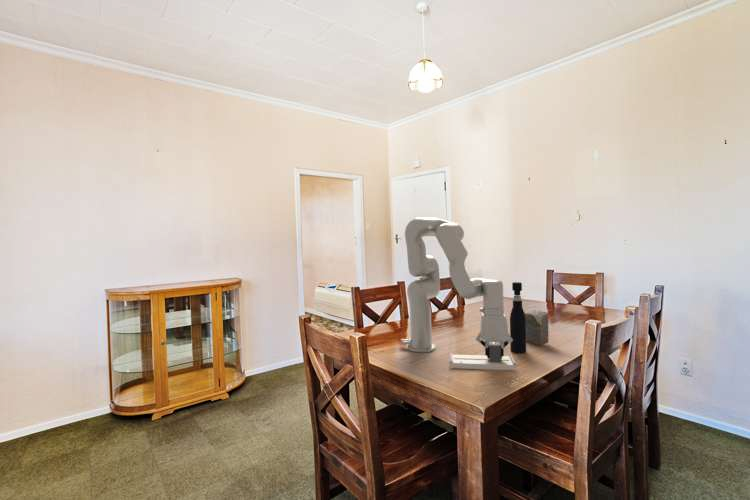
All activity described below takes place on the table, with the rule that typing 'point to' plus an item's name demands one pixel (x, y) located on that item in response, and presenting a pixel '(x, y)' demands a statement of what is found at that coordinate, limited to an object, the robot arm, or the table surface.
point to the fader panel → (481, 362)
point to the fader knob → (494, 352)
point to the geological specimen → (537, 326)
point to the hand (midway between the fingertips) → (494, 357)
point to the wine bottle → (517, 322)
